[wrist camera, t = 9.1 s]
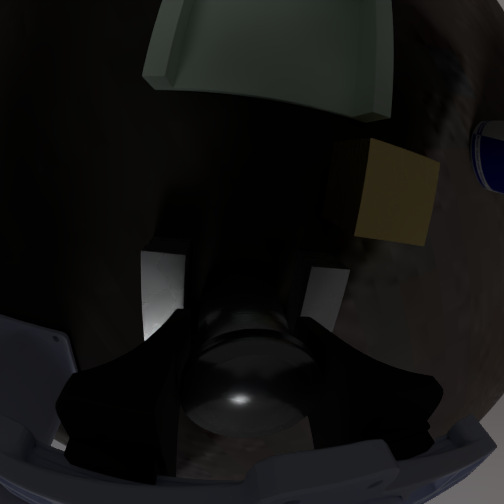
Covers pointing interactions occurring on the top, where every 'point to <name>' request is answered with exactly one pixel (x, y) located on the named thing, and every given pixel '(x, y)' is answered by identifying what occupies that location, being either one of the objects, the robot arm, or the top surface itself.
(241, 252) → the top surface
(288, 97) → the tray
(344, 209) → the yellow cube
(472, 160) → the energy drink
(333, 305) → the bracket
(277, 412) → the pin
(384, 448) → the robot arm
